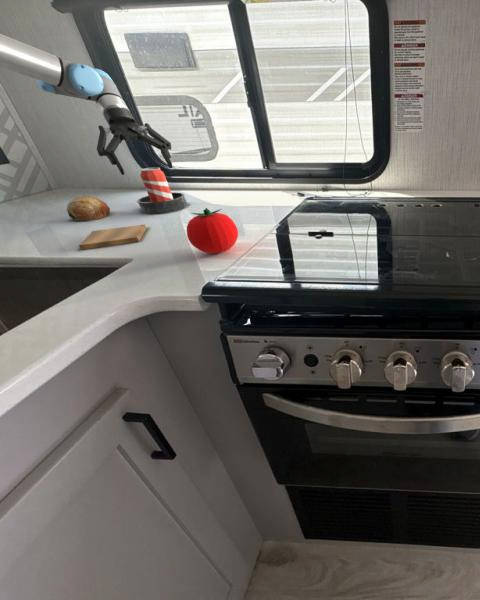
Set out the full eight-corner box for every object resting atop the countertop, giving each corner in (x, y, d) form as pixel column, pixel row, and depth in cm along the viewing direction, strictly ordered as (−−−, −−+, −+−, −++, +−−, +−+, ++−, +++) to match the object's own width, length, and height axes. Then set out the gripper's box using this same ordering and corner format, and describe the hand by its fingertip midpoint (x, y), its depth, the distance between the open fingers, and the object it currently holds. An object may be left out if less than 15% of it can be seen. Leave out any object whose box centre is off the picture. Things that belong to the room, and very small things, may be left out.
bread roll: (75, 229, 104) (50, 209, 98) (99, 207, 109) (76, 187, 103) (98, 232, 102) (73, 212, 95) (121, 209, 107) (99, 189, 100)
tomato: (190, 250, 79) (174, 209, 74) (235, 240, 85) (223, 200, 80) (200, 264, 72) (184, 220, 67) (248, 252, 78) (237, 210, 73)
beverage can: (179, 205, 112) (166, 167, 105) (161, 210, 107) (145, 171, 101) (168, 203, 114) (154, 166, 108) (149, 208, 109) (133, 170, 103)
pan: (138, 216, 103) (133, 205, 101) (146, 205, 114) (141, 195, 112) (185, 210, 108) (182, 199, 106) (189, 200, 118) (185, 190, 116)
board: (81, 249, 81) (78, 245, 80) (94, 235, 89) (92, 231, 89) (139, 241, 85) (137, 237, 84) (146, 228, 93) (145, 224, 93)
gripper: (161, 121, 119) (189, 170, 118) (72, 126, 104) (102, 182, 103) (159, 104, 113) (188, 156, 112) (64, 107, 98) (96, 166, 97)
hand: (147, 168), depth 108 cm, fingers open, 13 cm apart
